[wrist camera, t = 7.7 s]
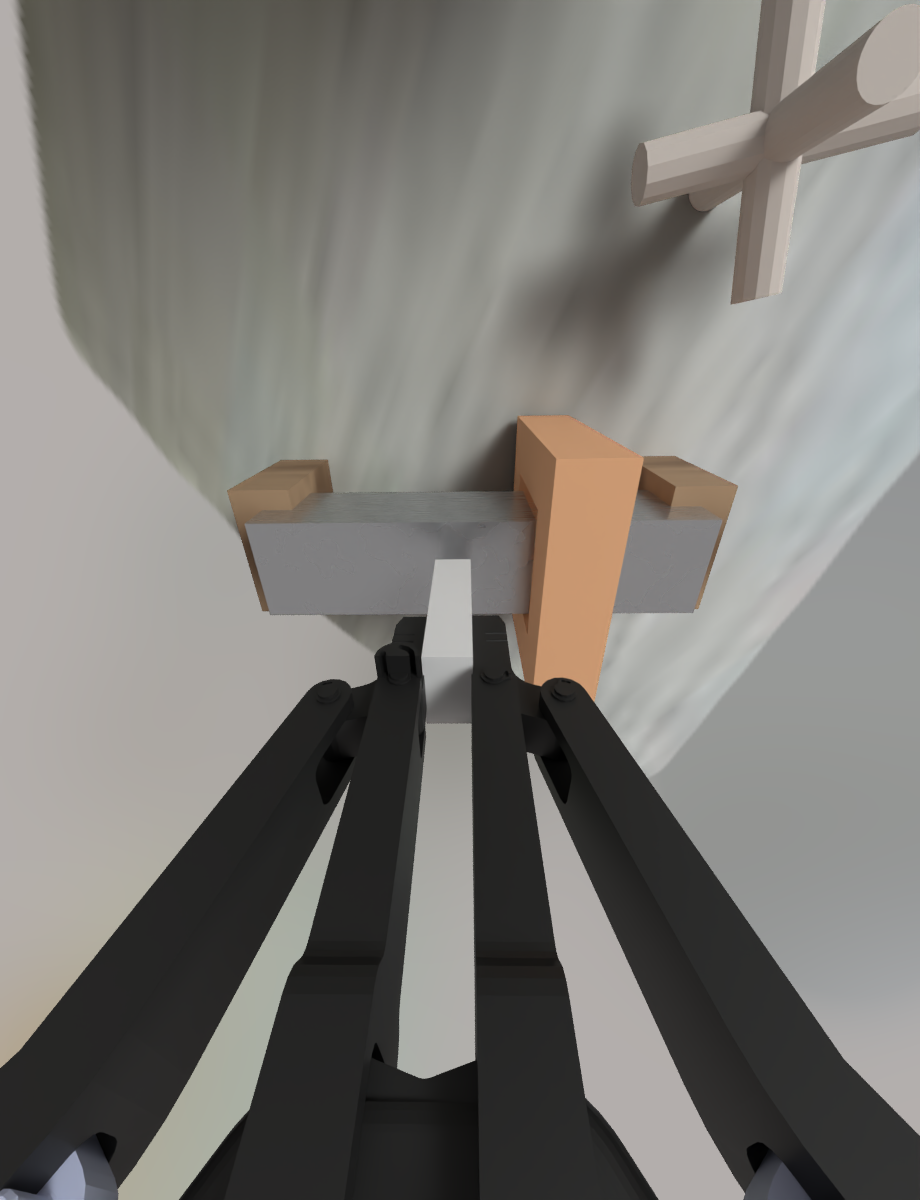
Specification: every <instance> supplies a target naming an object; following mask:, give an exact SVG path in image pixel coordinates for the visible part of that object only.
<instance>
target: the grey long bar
mask: <svg viewBox="0 0 920 1200" xmlns="http://www.w3.org/2000/svg"><path fill="white" fill-rule="evenodd" d="M537 516H538V509H537V507H536V505H535V503H534V502H528V501H527V499H526V497H525V495H524V492H523V491H481V492H370V493H310V494H309V495H308V496H307V497H306V498H305V499H304V500H302V501H301V502H300V503H299V504H298V505H297V506H296V507H295V508H293V509H292V510H262V511H261V512H259V513H258V514H257V515H255V516H254V517H253V518H251V519H250V520H249V521H247V522H246V523H245V528H246V531H247V535H248V538H249V542H250V545H251V549H252V552H253V556H254V559H255V563H256V566H257V570H258V573H259V577H260V580H261V584H262V587H263V591H264V594H265V598H266V601H267V605H268V608H269V612H270V615H367V614H428V607H429V600H430V593H431V586H432V579H433V572H434V565H435V560H440V559H471V600H472V614H529V602H530V598H531V586H532V574H533V563H534V551H535V539H536V527H537ZM722 521H723V520H722V519H721V518H719V517H717V516H716V515H714V514H713V513H711V512H709V511H708V510H706V509H705V508H703V507H702V506H685V507H671V506H669V505H668V504H667V503H665V502H664V501H663V500H661V499H660V498H658V497H657V496H656V495H654V494H653V493H651V492H650V491H649V490H637V495H636V500H635V505H634V510H633V515H632V519H631V524H630V529H629V534H628V539H627V544H626V549H625V554H624V559H623V564H622V568H621V573H620V578H619V583H618V588H617V593H616V598H615V603H614V608H613V613H693V612H694V609H695V605H696V602H697V599H698V596H699V593H700V590H701V587H702V584H703V580H704V577H705V574H706V571H707V568H708V565H709V562H710V559H711V555H712V552H713V549H714V546H715V543H716V540H717V537H718V533H719V530H720V527H721V524H722Z"/></svg>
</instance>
